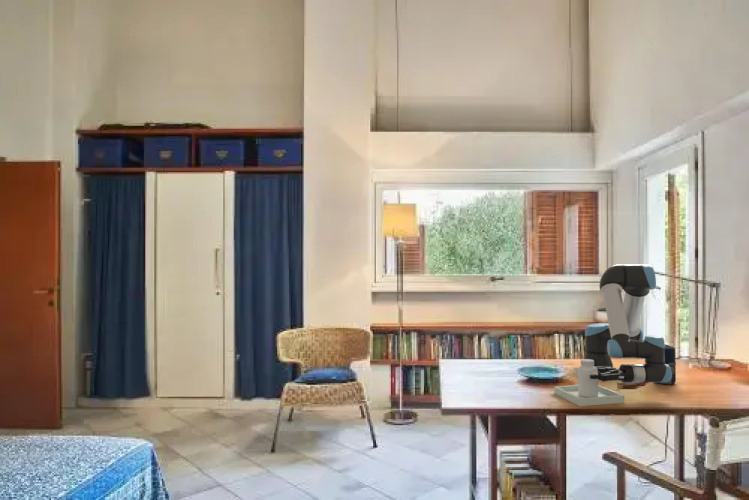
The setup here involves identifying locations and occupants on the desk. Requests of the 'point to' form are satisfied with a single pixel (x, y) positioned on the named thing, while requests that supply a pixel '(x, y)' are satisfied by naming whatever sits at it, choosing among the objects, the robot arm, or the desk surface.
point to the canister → (670, 362)
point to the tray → (603, 397)
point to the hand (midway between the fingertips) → (577, 373)
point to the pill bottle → (587, 386)
